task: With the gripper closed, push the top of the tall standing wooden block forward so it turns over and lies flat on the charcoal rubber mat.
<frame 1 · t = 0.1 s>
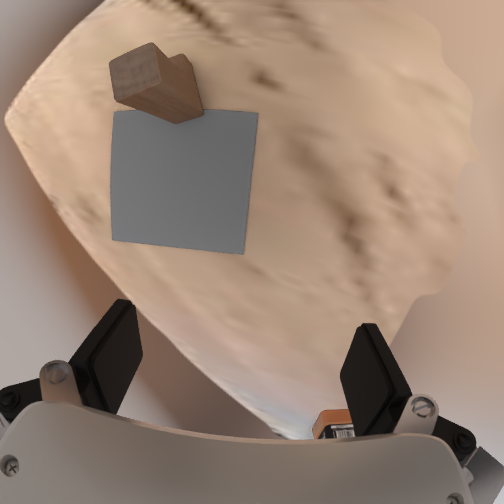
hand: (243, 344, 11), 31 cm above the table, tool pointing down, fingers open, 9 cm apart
wooden block: (183, 93, 34), on the table, touching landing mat
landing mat: (175, 179, 39), on the table
whiskey bottle: (335, 419, 59), on the table
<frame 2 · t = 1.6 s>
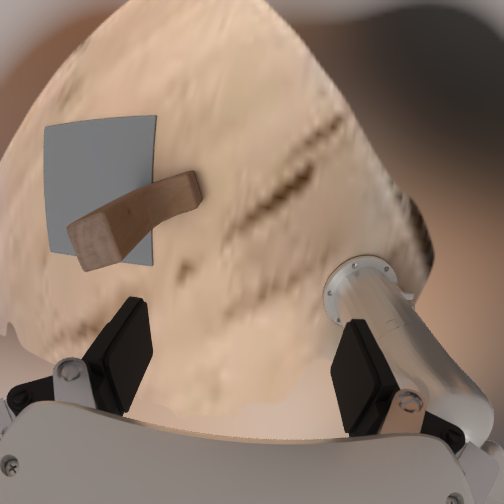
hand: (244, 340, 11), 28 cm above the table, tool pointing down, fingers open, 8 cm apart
wooden block: (168, 194, 37), on the table, touching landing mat
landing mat: (91, 191, 37), on the table
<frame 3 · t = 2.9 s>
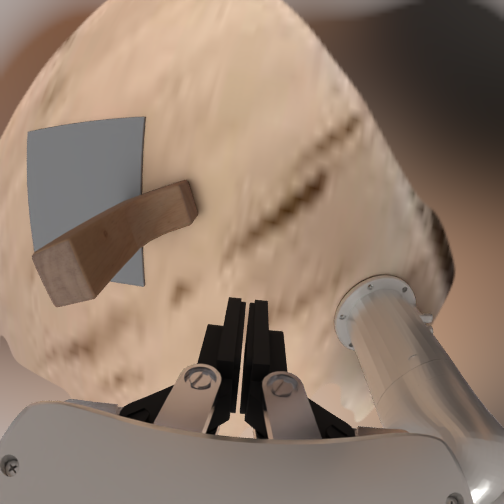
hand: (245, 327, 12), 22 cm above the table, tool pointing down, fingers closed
wooden block: (159, 207, 32), on the table, touching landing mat
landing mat: (76, 202, 32), on the table
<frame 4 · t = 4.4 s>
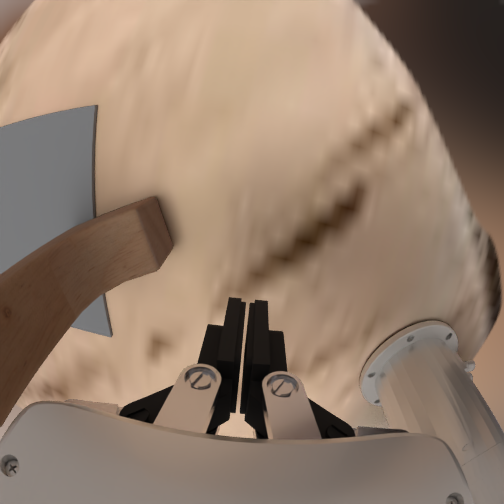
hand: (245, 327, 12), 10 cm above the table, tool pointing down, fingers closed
wooden block: (120, 236, 22), on the table, touching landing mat
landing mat: (23, 226, 22), on the table
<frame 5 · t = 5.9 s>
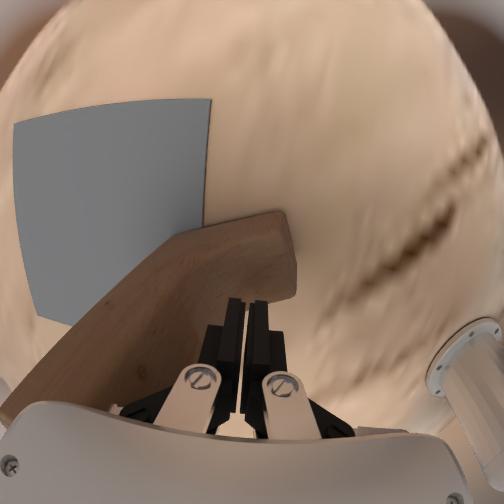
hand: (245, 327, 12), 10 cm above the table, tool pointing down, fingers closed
wooden block: (232, 249, 21), point 1 cm above the table, touching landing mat
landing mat: (90, 232, 22), on the table
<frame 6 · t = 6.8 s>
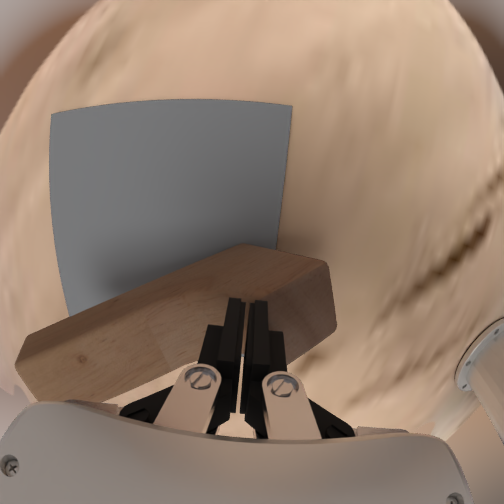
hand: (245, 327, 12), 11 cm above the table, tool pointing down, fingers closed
wooden block: (288, 278, 18), point 4 cm above the table, touching gripper, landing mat
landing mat: (147, 236, 22), on the table
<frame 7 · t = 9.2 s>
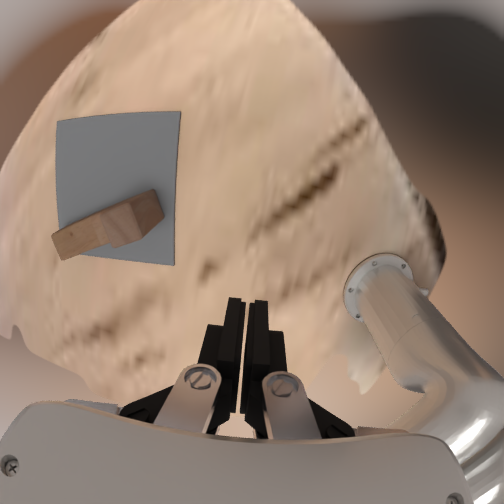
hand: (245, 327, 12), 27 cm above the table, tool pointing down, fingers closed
wooden block: (150, 210, 33), point 5 cm above the table, touching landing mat
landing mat: (109, 188, 36), on the table
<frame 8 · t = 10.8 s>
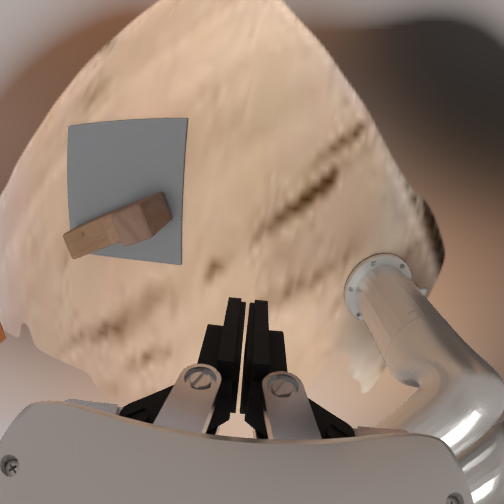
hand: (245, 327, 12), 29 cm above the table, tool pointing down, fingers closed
wooden block: (159, 211, 35), point 5 cm above the table, touching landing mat
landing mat: (119, 191, 39), on the table
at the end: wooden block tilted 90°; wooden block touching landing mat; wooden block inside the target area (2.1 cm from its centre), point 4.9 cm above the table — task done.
